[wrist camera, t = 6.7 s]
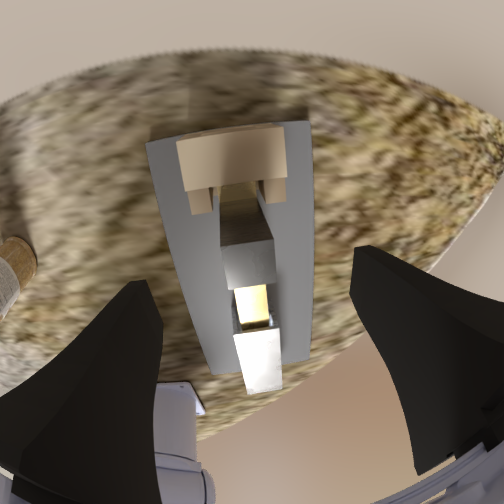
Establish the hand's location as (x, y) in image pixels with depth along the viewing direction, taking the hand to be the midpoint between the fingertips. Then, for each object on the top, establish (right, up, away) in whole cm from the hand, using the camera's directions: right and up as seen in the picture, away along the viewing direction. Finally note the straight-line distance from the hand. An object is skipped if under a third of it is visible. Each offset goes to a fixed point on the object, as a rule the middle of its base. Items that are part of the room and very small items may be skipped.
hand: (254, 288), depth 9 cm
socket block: (-1, +7, +7) cm, 9 cm away
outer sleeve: (0, -6, +14) cm, 16 cm away
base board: (-1, 0, +12) cm, 12 cm away
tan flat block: (-1, +1, +10) cm, 10 cm away
